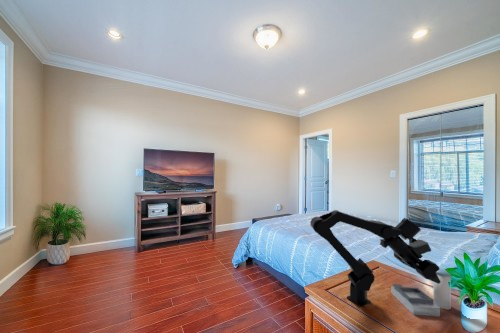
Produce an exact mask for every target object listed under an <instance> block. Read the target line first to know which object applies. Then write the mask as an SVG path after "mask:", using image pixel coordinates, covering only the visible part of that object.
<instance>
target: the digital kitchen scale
mask: <svg viewBox="0 0 500 333" xmlns="http://www.w3.org/2000/svg"><path fill="white" fill-rule="evenodd" d="M390 289H391V294H392V295H393V296H394V297H395V298H396V299H397V300H398V301H399V302H400V303H401V304H402V305H403V306H404V307H405V308H406V309H407V310H409V312H410V313H411V314H412V315H415V316H429V317H430V316H431V317H441V316H440V315H441V308H439V307H438V306H437V305H435V304H434V298H431V297H430V296H429V295H428V294H426V293H425V292H424V291H422V290H421V289H420V288H419V287H414V286H403V285H402V284H398V283H393V285H391V288H390Z"/></svg>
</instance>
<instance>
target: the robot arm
mask: <svg viewBox="0 0 500 333" xmlns="http://www.w3.org/2000/svg"><path fill="white" fill-rule="evenodd" d="M340 222H341V223H343V224H347V225H350V226H353V227H356V228H360V229H363V230H365V231H368V232H370V233H372V234H374V235H376V236H377V237H379V238H380V243H379V245H380V246H381V247H383V248H384V249H387V248H388V247H389V248H390V249H391V251H393V256H394V258H395V260H398V261H399V262H401V263H402V264H404V265H405V266H407V267H409V268H411V269H414V270H415V271H416V273H417V274H418V275H420V276H421V277H422V278H423V279H425V280H429V281H430V282H431V281H432V282H436V283H438V284H439V283H440V282H441V281H440V280H439V278H438V276H437V274H436V272H437V271H438V270H439V268H440V267H439V265H438V264H436V262H433V261H431V260H429V259H424V260H423V259H421V258H423V255H424V254H426V253H430V252H432V248H431V246H430V245H429V243H428V242H427V241H426V240H422V239H419V238H418V239H416V238H415V237H416V236H417V235H418V234H419V232H421V230H422V229H421V228H420V227H419V225H417V224H415V223H414V222H413V221H411V220H410V219H408V218H406V217H403V218H402V220H400V222H399V223H398V224H397V225H396V226H393V225H390V224H386V223H384V222H383V221H380V220H373V219H371V220H370V219H365V218H361V217H358V216H354V215H351V214H348V213H345V212H342V211H339V210H337V209H334V210H332V211H330V212H328V213H325V214H322V215H320V216H314V217H312V218H311V220H310V222H309V223H310V227H311V228H312V229H313V231H314V232H315V233H316V234H317V235H318V236H320V237H321V238H323V239H324V240H326V241H327V242H328V244H329V245H330V246H331V247H332V248H333V249H334V250H335V251H336V252H337V253H338V255H340V257H341V258H343V260H344V261H345V262H346V263H347V264H348V266H349V268H350V270H351V271H349V273H347V278H348V281H350V284H349V295H347V296H346V299H347V300H349V301H350V302H353V303H354V304H355V305H357V306H359V307H364V306H365V305H368V304H371V300H370V299H368V292H370V290H371V287H372V284H373V283H374V282H375V278H376V277H375V274H374V271H373V270H372V269H371V268H370V267H369V266H368V265H367V263H366V262H365V261H363V260H362V259H361V258H358V259H356V258H355V257H354V256H353V254H352V253H350V251H349V250H348V249H347V248H346V247H345V245H344V244H342V242H341V241H340V240H339V239H338V238H337V237H336V235H335V234H334V232H332V230H331V228H333V227H334V226H335V225H337V223H340ZM406 240H408V243H407V242H405V241H406Z"/></svg>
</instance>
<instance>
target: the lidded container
mask: <svg viewBox="0 0 500 333" xmlns="http://www.w3.org/2000/svg"><path fill="white" fill-rule="evenodd" d="M446 270H447V269H443V268H440V267H439V270H438V271H437V272H436V274H437V276H438V278H439V280H440V281H441V282H440V283H439V284H438V283H436V282H433V281H432V282H433V286H432V288H433V289H432V290H433V294H432V295H433V303H434V304H435V305H437V306H438V307H439V308H440V309H442V310H451V309H452V308H451V306H452V303H451V302H452V301H451V296H452V295H451V292H452V291H451V290H452V289H451V286H450V287H449V285H448V282H450V283H451V276H450V274H449V273H448V272H447V271H448V270H447V271H446Z"/></svg>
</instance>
